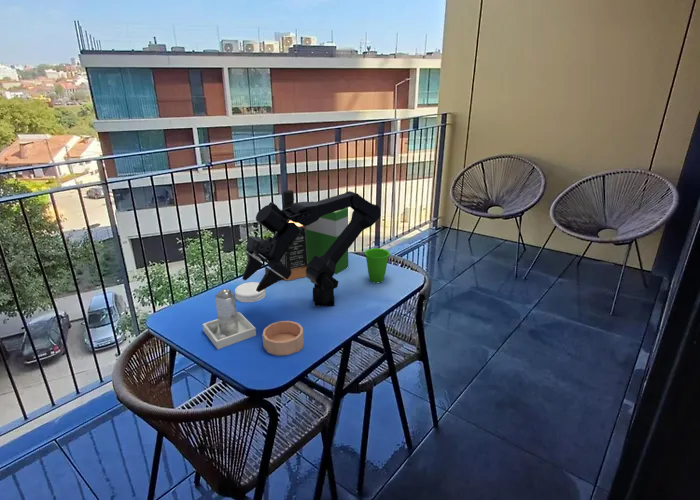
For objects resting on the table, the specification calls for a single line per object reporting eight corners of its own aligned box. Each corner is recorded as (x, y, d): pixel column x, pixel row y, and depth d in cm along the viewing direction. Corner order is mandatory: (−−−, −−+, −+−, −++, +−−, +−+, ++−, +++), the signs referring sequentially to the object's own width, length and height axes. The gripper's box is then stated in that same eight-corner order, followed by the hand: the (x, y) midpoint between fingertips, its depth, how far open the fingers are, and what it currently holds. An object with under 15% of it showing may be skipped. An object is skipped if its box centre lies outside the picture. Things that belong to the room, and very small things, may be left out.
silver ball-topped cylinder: (240, 327, 121) (235, 284, 115) (237, 338, 116) (231, 293, 111) (222, 328, 120) (216, 285, 115) (218, 338, 116) (211, 294, 110)
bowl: (304, 333, 119) (303, 320, 117) (302, 356, 109) (301, 341, 107) (267, 335, 118) (265, 321, 116) (261, 357, 108) (260, 343, 107)
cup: (393, 278, 152) (394, 251, 148) (381, 288, 145) (382, 259, 141) (372, 273, 157) (372, 246, 153) (359, 282, 150) (359, 254, 146)
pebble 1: (219, 329, 120) (218, 322, 119) (217, 334, 118) (216, 326, 117) (211, 329, 120) (209, 322, 119) (208, 334, 117) (207, 327, 117)
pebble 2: (228, 339, 115) (227, 332, 114) (226, 344, 113) (225, 337, 112) (219, 340, 115) (218, 332, 114) (217, 345, 113) (216, 337, 112)
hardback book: (302, 263, 166) (299, 205, 157) (314, 257, 172) (312, 201, 163) (336, 273, 156) (335, 213, 148) (348, 267, 162) (347, 208, 153)
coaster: (230, 296, 141) (229, 286, 139) (257, 288, 146) (256, 279, 145) (243, 307, 133) (242, 298, 132) (270, 298, 139) (270, 289, 138)
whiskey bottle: (276, 271, 159) (270, 189, 147) (300, 266, 163) (296, 186, 152) (285, 281, 151) (279, 195, 139) (310, 275, 155) (307, 192, 143)
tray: (240, 320, 126) (239, 311, 124) (256, 337, 117) (255, 327, 116) (203, 332, 119) (202, 323, 118) (217, 351, 111) (216, 341, 110)
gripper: (248, 217, 121) (216, 261, 119) (278, 234, 107) (242, 284, 105) (274, 237, 128) (244, 278, 126) (305, 255, 115) (272, 302, 113)
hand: (250, 285), depth 117 cm, fingers open, 9 cm apart
